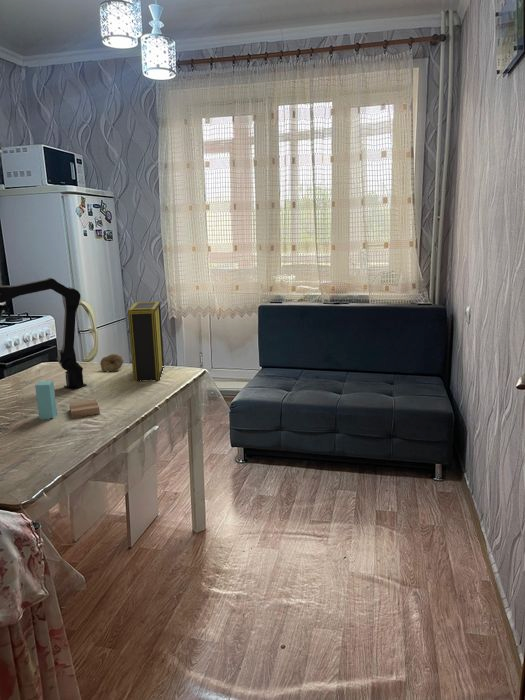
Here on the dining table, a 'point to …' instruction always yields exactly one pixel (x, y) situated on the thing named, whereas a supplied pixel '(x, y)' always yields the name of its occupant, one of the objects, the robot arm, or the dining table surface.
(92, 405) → the base brick
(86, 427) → the dining table surface
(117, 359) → the fossil
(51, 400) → the tall block
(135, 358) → the diorama
